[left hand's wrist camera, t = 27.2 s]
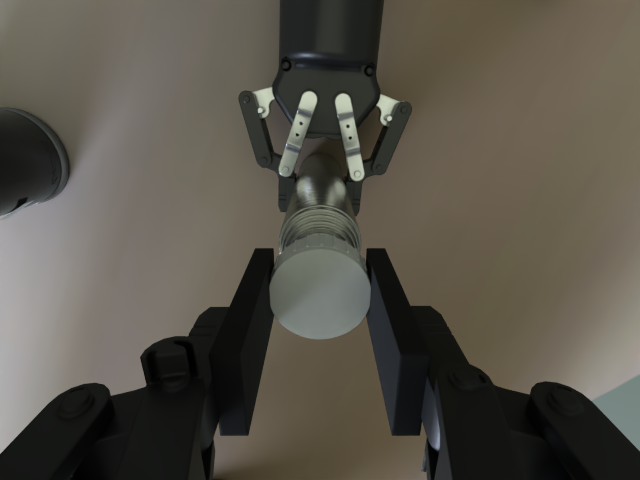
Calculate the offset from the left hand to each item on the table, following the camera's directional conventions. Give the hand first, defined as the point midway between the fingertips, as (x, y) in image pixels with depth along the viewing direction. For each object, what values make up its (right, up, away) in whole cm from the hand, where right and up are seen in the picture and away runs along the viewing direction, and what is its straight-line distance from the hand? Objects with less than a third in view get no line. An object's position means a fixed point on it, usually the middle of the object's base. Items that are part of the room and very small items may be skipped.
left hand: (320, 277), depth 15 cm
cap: (0, 0, -1) cm, 1 cm away
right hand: (0, +4, +17) cm, 17 cm away
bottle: (0, +8, +21) cm, 23 cm away
